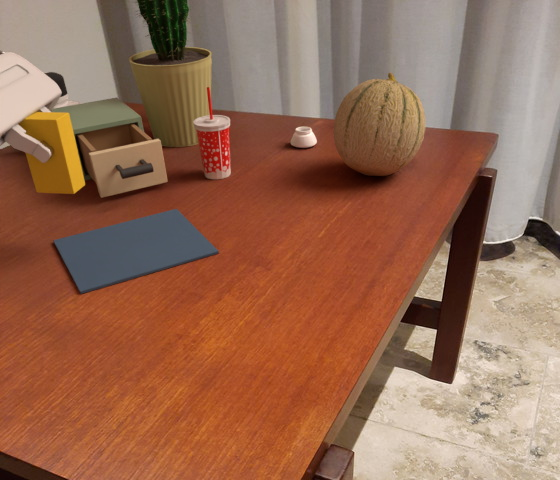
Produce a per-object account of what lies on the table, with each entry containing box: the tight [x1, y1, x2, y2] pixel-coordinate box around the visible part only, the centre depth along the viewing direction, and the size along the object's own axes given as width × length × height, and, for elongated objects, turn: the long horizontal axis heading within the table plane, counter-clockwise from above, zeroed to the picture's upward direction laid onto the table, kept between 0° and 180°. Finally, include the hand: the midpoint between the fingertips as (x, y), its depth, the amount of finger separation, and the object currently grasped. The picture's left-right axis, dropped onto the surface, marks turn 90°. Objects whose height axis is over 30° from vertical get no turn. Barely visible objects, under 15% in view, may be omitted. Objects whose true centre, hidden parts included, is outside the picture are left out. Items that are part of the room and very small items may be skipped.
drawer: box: [75, 123, 169, 198], centre depth 92 cm, size 18×11×7 cm, turn 29°
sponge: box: [18, 112, 86, 195], centre depth 70 cm, size 4×5×9 cm
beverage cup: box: [193, 87, 232, 180], centre depth 93 cm, size 6×6×14 cm
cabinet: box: [51, 97, 145, 182], centre depth 101 cm, size 15×13×9 cm
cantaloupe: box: [333, 72, 426, 177], centre depth 90 cm, size 15×15×15 cm
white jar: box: [289, 126, 318, 149], centre depth 106 cm, size 5×3×5 cm
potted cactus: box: [128, 0, 213, 148], centre depth 103 cm, size 15×15×30 cm
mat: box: [53, 208, 220, 295], centre depth 78 cm, size 19×16×1 cm
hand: (58, 150), depth 70 cm, fingers closed on sponge, 3 cm apart
